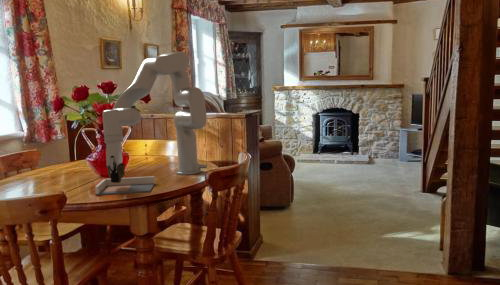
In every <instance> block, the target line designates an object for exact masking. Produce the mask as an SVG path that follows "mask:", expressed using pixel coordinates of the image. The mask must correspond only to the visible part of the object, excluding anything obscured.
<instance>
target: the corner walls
mask: <svg viewBox="0 0 500 285" xmlns="http://www.w3.org/2000/svg"><path fill="white" fill-rule="evenodd" d="M152 183H155V176H154V175H152V176H151V175H150V176H137V177H136V176H135V177H134V176H133V177H123V178H122V179H121V182H120V183H113V182H111V178H103V179H102V180H101V181H99V183H97V184H96V185H95V186H94V191H95V195H96V194H99V193H100V192H101V191H102V190H103V189H104V188H105V187H106V186H117V185H134V184H152ZM155 184H156V183H155Z"/></svg>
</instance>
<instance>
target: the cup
mask: <svg viewBox="0 0 500 285" xmlns="http://www.w3.org/2000/svg"><path fill="white" fill-rule="evenodd" d="M117 167H118V173H119V182H113V183H120V182H121V179H122V178H124V176H125V171H126V170H125V169H126V163H124V162H122V163H121V165H118V166H117ZM106 169H107V174H108V177H109V179H111V175H110V166H107V165H106ZM115 169H116V167H115Z"/></svg>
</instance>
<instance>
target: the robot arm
mask: <svg viewBox="0 0 500 285" xmlns="http://www.w3.org/2000/svg"><path fill="white" fill-rule="evenodd" d="M189 64H190V58H189V55H188V54H187V53H186V52H184V51H172V52H165V53H161V54H160V55H158V56H151V57H147V58H145V59H144V60H142V63H141V65H140V66H139V69H138V71H137V73H136V75H135V77H134V79H133V81H132V82H131V85H130V86H128V87H127V88H126V90H125V91H123V92H122V93H121V95H120V96H119V97H118V99H116V102H115V103H114V106H113V107H112V109H105V110H102V114H101V115H102V125H103V126H102V127H103V139H104V144H105V146H106V147H105V156H106V157H105V158H106V159H105V160H106V167H107V166H110V175H111V178H110V179H111V182H119V173H118V167H117V166H118V165H121V163H122V164H123V151H122V150H123V148H122V143H123V142H124V135H123V126H135V125H137V124H138V123H139V122H140V121H141V119H142V118H141V116H142V115H141V112H140V111H139V110H138V109H136V108H134V107H133V105H134V104H135V103H136V102H137V101H139V100H141V99H143V98H145V97H146V96H148V95H149V94H150V92H151V91H152V88H153V87H154V84H155V81H156V80H157V77H160V76H169V78H170V80H171V81H170V82H171V85H172V86H171V87H172V94H173V95H172V96H173V101H174V104H175V105H176V106H177V107H180V108H189V109H180V110H178V111H176V112H175V114H174V116H173V124H174V128H175V133H176V143H177V144H176V145H177V161H178V165H177V166H178V169H176V170H175V174H177V175H181V176H185V175H187V176H188V175H197V174H199V173H201V172H202V169H207V168H208V167H207V166H208V165H207V163H206V164H205V163H203V164H200V163H199V161H198V149H197V135H196V133H195V130H201V129H203V128H205V126H206V124H207V122H208V121H207V109H206V100H205V95H204V92H203V91H202V89H200V88H198V87H196V86H191V84H190V76H189V74H188V72H187V70H186V69H187V68H188V67H189ZM115 167H116V169H115Z"/></svg>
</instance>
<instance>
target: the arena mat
mask: <svg viewBox="0 0 500 285" xmlns="http://www.w3.org/2000/svg"><path fill="white" fill-rule="evenodd" d="M155 184H156V183H152V184H134V185H117V186H106V187H105V188H104V189H103V190H102V191H101V192H100V193H99V194H96V193H95V196H105V195H121V194H122V195H123V194H125V195H126V194H142V193H151V191H152V190H153V188H154V186H155Z"/></svg>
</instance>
